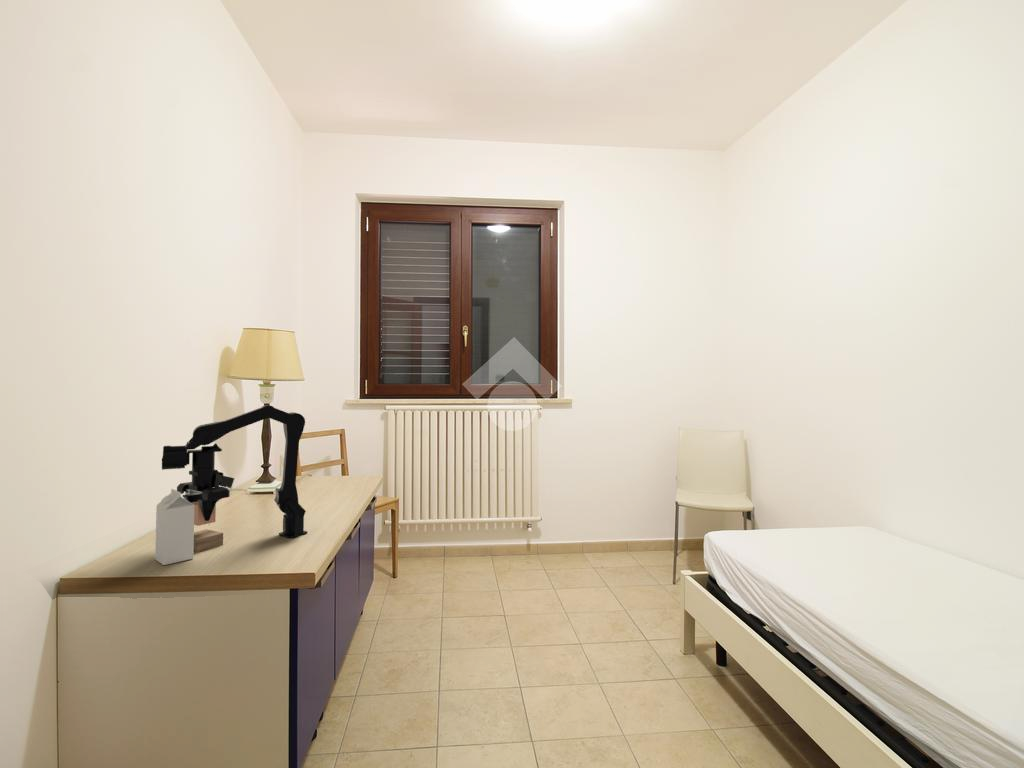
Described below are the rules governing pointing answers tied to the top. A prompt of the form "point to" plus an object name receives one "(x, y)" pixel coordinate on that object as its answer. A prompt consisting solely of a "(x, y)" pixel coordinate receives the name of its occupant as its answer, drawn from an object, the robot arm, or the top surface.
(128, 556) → the top surface
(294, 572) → the top surface
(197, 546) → the walnut block
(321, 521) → the top surface
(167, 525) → the milk carton
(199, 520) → the terracotta cube
